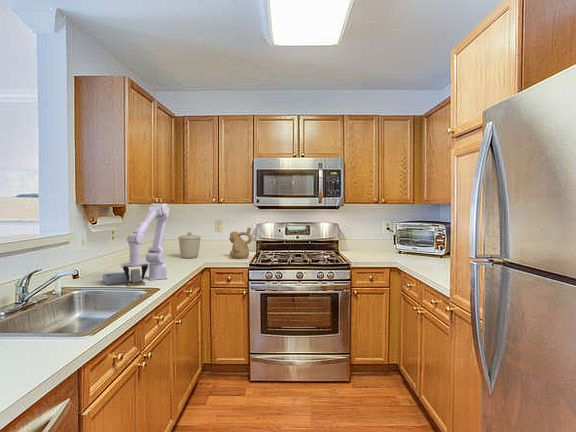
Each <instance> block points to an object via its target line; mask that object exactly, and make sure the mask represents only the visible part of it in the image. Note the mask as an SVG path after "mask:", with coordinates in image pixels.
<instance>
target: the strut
mask: <svg viewBox="0 0 576 432" xmlns="http://www.w3.org/2000/svg"><path fill="white" fill-rule="evenodd" d="M140 280H141V270H140V268H133V269H130V281H131V284H133V283H140Z"/></svg>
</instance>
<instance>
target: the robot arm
mask: <svg viewBox="0 0 576 432" xmlns="http://www.w3.org/2000/svg"><path fill="white" fill-rule="evenodd" d="M169 214H170V207H169V205H168V204H167V203H150V206H149V207H148V212H147V214H146V215H145V217H144V219H143V221H141V222H139V223H138V224H137V226H136V228H135V229H134V230H133V232H130V233H129V234H128V235H127V238H126V240H127V243H128V246H129V262H125V263H121V264H120V268H121V269H122V270H123V272H125V274H126V278H127V281H129V275H130V274H129V273H130V269H129V268H135V267H136V268H137V267H141V280H144V279H145V275H146V272H147V271H148V276H147V277H146V278H147V279H148V280H149V281H155V280H156V281H157V280H166V279H167V264H166V262H165V260H166V250H164V248H163V243H164V239H165V233H166V229H167V223H168V219H169ZM154 219H155V220H157V222H156V226H155V227H156V228H155V232H154V238H153V241H152V242H153V243H152V246H151V247H150V248H148V250H147V253H146V254H145V260H146V261H142V243H143V242H144V240H145V235H146V233H147V231H148V230H149V229H150V227H149V225H150V223H151V222H152V221H153V220H154Z"/></svg>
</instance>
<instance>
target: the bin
mask: <svg viewBox="0 0 576 432" xmlns="http://www.w3.org/2000/svg"><path fill="white" fill-rule="evenodd" d="M126 281H127V278H126V274H125V272H124V271H122V272H113V273H103V274H102V282H103V284H104V285H105V286H113V284H114V285H120V284H121V285H122V284H126ZM129 281H131V274H129Z"/></svg>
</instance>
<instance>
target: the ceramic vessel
mask: <svg viewBox="0 0 576 432" xmlns="http://www.w3.org/2000/svg"><path fill="white" fill-rule="evenodd" d="M251 230H252V228H251V227H247V230H246V231H240V232H237V231H232V232H230V233H229V241H230V243H231V244H232V247H231V248H232V249H231V250H230V252H229V256H230V257H231V259H238V260H242V259H245V260H246V259H248V258H249V256H250V250H249V246H248V245H249V244H251V242H252V240H253V238H252V237H253V236H252V235H251ZM241 236H246V237H248V239H247V240H244V239H243V238H242V237H241Z"/></svg>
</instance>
